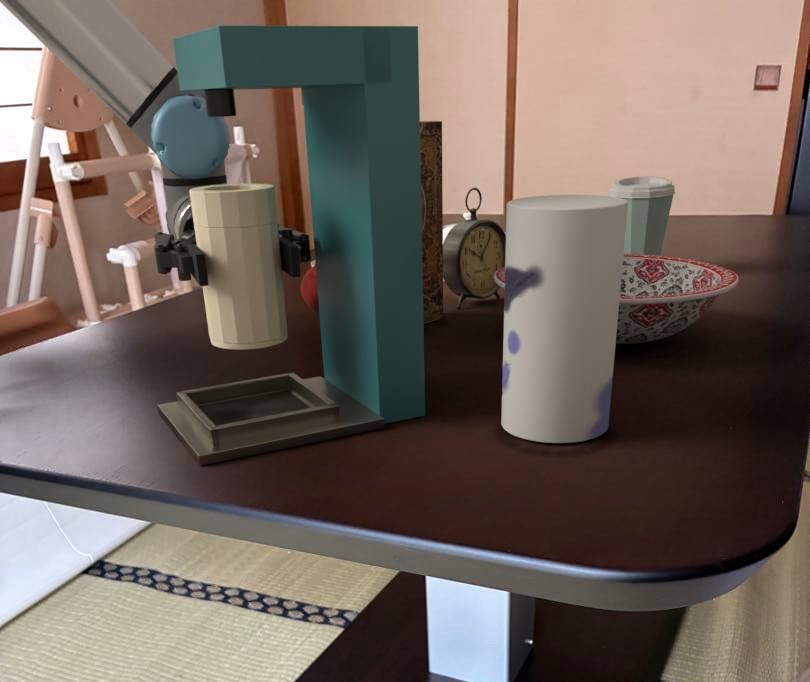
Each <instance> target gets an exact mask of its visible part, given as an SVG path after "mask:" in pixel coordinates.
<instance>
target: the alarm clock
mask: <svg viewBox="0 0 810 682" xmlns="http://www.w3.org/2000/svg"><path fill="white" fill-rule="evenodd" d="M473 191H476V192H477V193H478V197H479V203H478V205H477V207H472V208H470V207H469V204H468V199H469V196H470V194H471V192H473ZM482 200H483V199H482V193H481V191H480V189H479V188H477V187H471V188H469V190H468V191H467V193H466V195H465V200H464V204H465V207H466V209H467V212H470V213H471V219H470V220H466V219H464V220H461V221H459V222H457V223H455V224H456V225H455V226H454V227H453V228H452V229H451V230H450V231H449V233H448V234H447V236H446V238H445V240H444V243H443V278H444V281H445V285H446V286H447V288H448V289H449V290H450V291H451V292H452V293H454V294H455V295H456V296H459V299H458V303H457V305H456V310H460V309H461V306H462V304H463V303H464V301H465V300H466V299H467V298H469V299H470V298H471V299H477V300H484V299H488V298H490V297H492V296H493V295H494V296H495V298H496V299H497V300H500V298H501V295H500V294H499V293H498V291H499V290H500V289H501V287H500V286H499V285H498V284H497V283H496V282H495V280H494V275H495V272H496V271H497V270H499V269H500V268H502V267H504V266H505V254H506V235H505V233H504V232H505V231H504V229H503V227H502V226H501V225H500V224H498V223H497V222H496V221H494V220H491V219H478V216H477V217H476V213H478V212H477V211H478V210H480V207H481V205H482ZM444 281H443V282H444Z"/></svg>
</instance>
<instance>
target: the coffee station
mask: <svg viewBox="0 0 810 682" xmlns="http://www.w3.org/2000/svg"><path fill="white" fill-rule="evenodd" d="M172 42H173V49H174V56H175V64H176V70H177V72H178V79H179V87H180V91H204V93H205V101H206V109H207V116H208V117H224V118H226V117H236V116H237V107H236V106H237V105H236V98H235V91H237V90H240V91H241V90H273V89H279V90H280V89H301V90H302V91H301V92H302V104H303V105H302V106H303V117H304V118H303V119H304V129H305V130H304V131H305V145H306V156H307V157H306V158H307V169H308V170H307V171H308V182H309V196H310V206H311V207H310V209H311V221H312V222H311V223H312V235H313V246H314V247H313V249H314V260H315V263H316V276H317V289H318V302H319V314H318V315H319V326H320V327H319V328H320V339H321V352H322V353H321V355H322V367H323V376H321V375H320V376H315V377H309V378H308V377H307V378H302V377H301V376H299V375H297V374H296V373H295V372H294V371H293V372H287V373H282V374H275V375H269V376H264V377H259V378H258V377H257V378H253V379H245V380H241V381H235V382H229V383H223V384H217V385H211V386H205V387H198V388H194V389H193V388H192V389H188V390H182V391H177V392H176V394H175V395H176V400H177V401H171V402H166V403H160V404H157V412H158V415H159V416H160V418H162V420H163V421H164V422H165V424H166V425H167V426H168V427H169V428H170V430H171V431H172V432H173V434H174V435H175V436H176V437H177V439H178V440H179V442H181V444H182V445H183V446H184V448H185V449H186V450H187V451H188V453H189V454H190V455H191V457H192V458H193V459H194V460H195V461H196V463H197V464H198V465H199V467H204V466H208V465H212V464H218V463H221V462H227V461H231V460H237V459H241V458H245V457H246V458H247V457H251V456H256V455H260V454H265V453H270V452H275V451H279V450H280V451H281V450H284V449H290V448H295V447H299V446H305V445H308V444H314V443H318V442H319V443H320V442H323V441H327V440H332V439H338V438H342V437H348V436H351V435H357V434H361V433H367V432H372V431H375V430H381V429H384V428H385V424H390V423H391V424H392V423H396V422H400V421H405V420H409V419H410V420H411V419H414V418H420V417H425V416H426V384H425V382H426V381H425V379H426V378H425V374H426V373H425V332H424V331H425V326H424V325H425V324H424V321H423V268H422V215H421V162H420V121H421V120H420V119H421V115H420V111H421V110H420V67H419V66H420V62H419V56H420V55H419V26H418V25H216V26H213V27H209V28H206V29H205V28H204V29H202V30H199V31H195V32H192V33H188V34H185V35H181V36H178V37H174V38H172Z"/></svg>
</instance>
